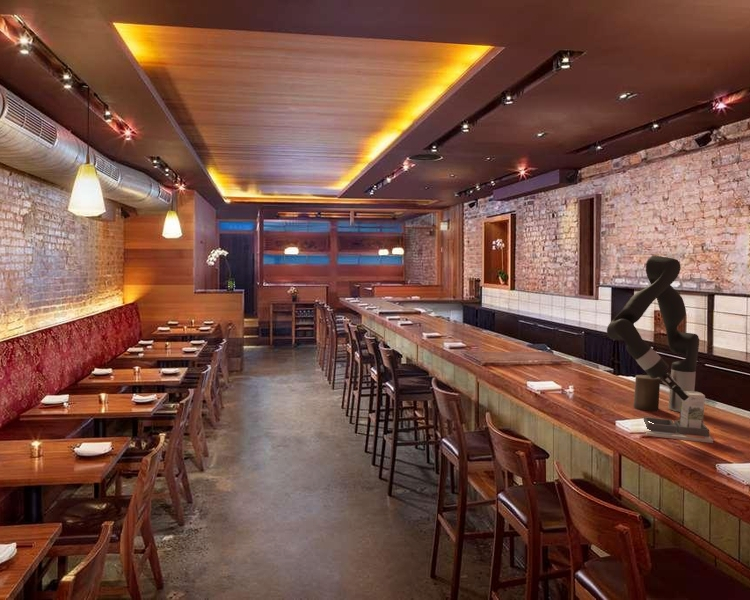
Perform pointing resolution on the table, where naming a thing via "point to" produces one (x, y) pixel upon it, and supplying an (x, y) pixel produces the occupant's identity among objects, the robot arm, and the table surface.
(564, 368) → the table surface
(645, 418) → the socket board
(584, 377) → the table surface
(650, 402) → the pillar candle
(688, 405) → the syrup box
